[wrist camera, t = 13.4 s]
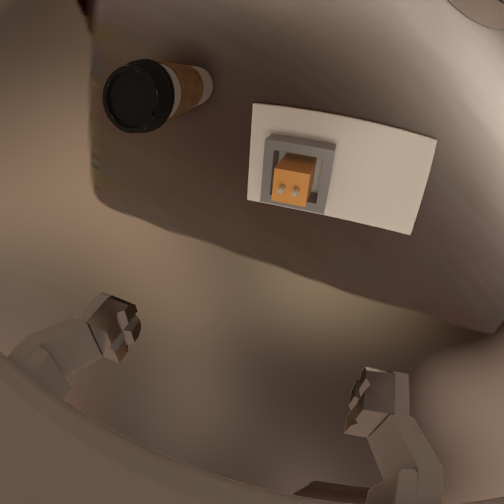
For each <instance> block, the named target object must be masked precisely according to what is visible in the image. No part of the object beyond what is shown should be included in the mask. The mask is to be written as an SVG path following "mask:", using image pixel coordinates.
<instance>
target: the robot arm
mask: <svg viewBox="0 0 504 504" xmlns="http://www.w3.org/2000/svg"><path fill="white" fill-rule="evenodd" d="M449 2H450V3H451V4H452V5H453V6H454V7H455V8H457V9H458V10H459V11H460V12H461V13H463V14H464V15H465V16H467V17H468V18H470V19H471V20H473V21H475V22H477V23H479V24H481V25H483V26H486V27H489V28H494V29H504V0H449ZM136 313H137V308H136V305H135V304H132V303H130V302H127V301H125V300H122V299H120V298H117V297H114V296H112V295H110V294H107V293H104V292H101V293H98V295H97V296H96V297H95V298H94V299H93V300H92V301H91V302H90V303H89V304H88V305H87V306H86V307H85V308H84V309H83V311H82V312H81V313H80V314H79V315H78V316H77V317H76V318H74V317H72V318H69V319H66V320H64V321H61V322H59V323H57V324H54V325H51V326H49V327H46V328H44V329H41V330H39V331H36V332H34V333H31V334H29V335H26V336H25V337H24V338H23V339H22V340H21V342H20V343H19V344H18V345H17V346H16V347H15V348H14V349H13V351H12V352H11V353H10V354H9V355H8V356H7V357H6V356H5V355H4V354H3V353H2V352H1V351H0V504H349V503H339V502H331V501H324V500H317V499H311V498H305V497H300V496H295V495H290V494H284V493H280V492H276V491H272V490H267V489H263V488H259V487H256V486H252V485H248V484H245V483H241V482H237V481H234V480H231V479H228V478H225V477H222V476H218V475H215V474H213V473H210V472H207V471H204V470H201V469H198V468H196V467H193V466H190V465H188V464H185V463H183V462H180V461H178V460H175V459H173V458H171V457H168V456H166V455H164V454H161V453H159V452H157V451H155V450H152V449H150V448H148V447H146V446H144V445H142V444H140V443H138V442H136V441H134V440H132V439H130V438H128V437H126V436H124V435H122V434H120V433H118V432H116V431H114V430H113V429H111V428H109V427H107V426H105V425H104V424H102V423H100V422H98V421H96V420H95V419H93V418H91V417H90V416H88V415H87V414H85V413H83V412H82V411H80V410H78V409H77V408H75V407H74V406H72V405H71V404H69V403H67V402H66V401H64V398H65V397H66V396H67V394H68V393H69V391H70V390H71V387H70V385H69V383H68V382H67V380H66V379H65V378H66V377H67V376H69V375H71V374H73V373H75V372H76V371H78V370H80V369H82V368H83V367H85V366H87V365H89V364H90V363H92V362H94V361H96V360H98V359H99V358H101V357H102V356H104V357H106V358H109V359H111V360H113V361H115V362H118V363H120V362H121V361H122V359H123V358H124V357H125V355H126V354H127V352H128V345H130V344H132V343H134V342H135V341H136V340H137V338H138V337H139V334H140V331H141V322H140V319H139V318H138V317H137V316H136ZM349 407H350V409H351V412H350V413H349V414H348V416H347V420H346V427H345V434H351V435H356V436H362V437H368V438H367V439H368V442H369V444H370V447H371V449H372V452H373V454H374V457H375V459H376V462H377V464H378V467H379V469H380V471H381V474H382V477H383V479H384V481H383V482H381V483H379V484H378V485H376V486H374V487H372V488H371V489H369V490H368V495H367V500H366V504H441V498H442V484H443V468H442V466H441V464H440V462H439V461H438V459H437V457H436V455H435V454H434V452H433V450H432V448H431V447H430V445H429V443H428V442H427V440H426V438H425V436H424V435H423V433H422V431H421V430H420V428H419V426H418V425H417V423H416V421H415V420H414V418H413V417H409V376H408V374H405V373H398V372H393V371H388V370H382V369H375V368H370V367H364V368H363V370H362V372H361V376H360V379H358V380H357V381H356V382H355V384H354V386H353V389H352V391H351V395H350V400H349ZM459 504H504V497H499V498H493V499H488V500H481V501H475V502H467V503H459Z"/></svg>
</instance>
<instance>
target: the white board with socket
mask: <svg viewBox="0 0 504 504" xmlns="http://www.w3.org/2000/svg"><path fill="white" fill-rule="evenodd" d="M436 144H437V140H436V139H434V138H431V137H428V136H425V135H421V134H418V133H414V132H411V131H407V130H404V129H400V128H396V127H392V126H388V125H384V124H380V123H376V122H371V121H367V120H363V119H358V118H353V117H348V116H343V115H338V114H333V113H327V112H321V111H315V110H309V109H302V108H295V107H288V106H280V105H271V104H262V103H253V110H252V126H251V143H250V159H249V176H248V193H247V200H251V201H257V202H262V203H267V204H273V205H278V206H283V207H288V208H293V209H298V210H303V211H308V212H312V213H317V214H322V215H327V216H331V217H336V218H340V219H345V220H349V221H354V222H358V223H362V224H367V225H371V226H375V227H379V228H384V229H388V230H392V231H396V232H400V233H404V234H408V235H410V234H411V231H412V228H413V225H414V222H415V219H416V216H417V213H418V210H419V207H420V204H421V200H422V197H423V193H424V190H425V187H426V183H427V179H428V176H429V172H430V168H431V164H432V160H433V156H434V152H435V148H436ZM286 153H292V154H298V155H303V156H309V157H314V158H317V162H316V169H315V175H314V182H313V187H312V190H311V193H310V195H309V198H308V201H307V204H306V206H305V207H301V206H297V205H292V204H287V203H282V202H277V201H271V198H272V188H273V178H274V168H275V167H276V166H277V164H278V163H279V162H280V161H281V159H282V158H283V157H284V156H285V154H286Z"/></svg>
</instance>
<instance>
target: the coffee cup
mask: <svg viewBox="0 0 504 504" xmlns="http://www.w3.org/2000/svg"><path fill="white" fill-rule="evenodd" d="M212 90H213V81H212V78H211V76H210V74H209V73H208V72H207V71H206V70H205V69H203V68H201V67H198V66H189V65H184V64H176V63H168V62H158V61H153V60H149V59H140V60H136V61H132V62H129V63H127V64H125V65H124V66H122V67H120V68H118V69H116V70H115V71H114V72H113V73H112V74H111V75H110V76H109V77H108V79H107V81H106V83H105V86H104V90H103V105H104V109H105V112H106V114H107V116H108V118H109V119H110V121H111V122H112V123H113V124H114V125H115V126H116V127H117V128H119V129H120V130H122V131H124V132H127V133H146V132H150V131H153V130H156V129H157V128H159V127H160V126H162V125H163V124H164V123H166V122H167V121H169V120H171V119H173V118H175V117H177V116H178V115H180V114H182V113H184V112H186V111H188V110H190V109H192V108H194V107H196V106H198V105H200V104H202V103H204V102H205V101H206V100H207V99H208V98H209V97H210V95H211V93H212Z"/></svg>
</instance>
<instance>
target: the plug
mask: <svg viewBox="0 0 504 504" xmlns="http://www.w3.org/2000/svg"><path fill="white" fill-rule="evenodd" d="M316 162H317V158H314V157H309V156H303V155H298V154H292V153H286V154H285V156H284V157H283V158H282V159H281V161H280V162H279V163H278V164H277V166H276V167H275V168H274V178H273V188H272V198H271V201H277V202H282V203H287V204H292V205H297V206H301V207H305V206H306V204H307V201H308V198H309V195H310V193H311V190H312V187H313V182H314V175H315V169H316Z"/></svg>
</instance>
